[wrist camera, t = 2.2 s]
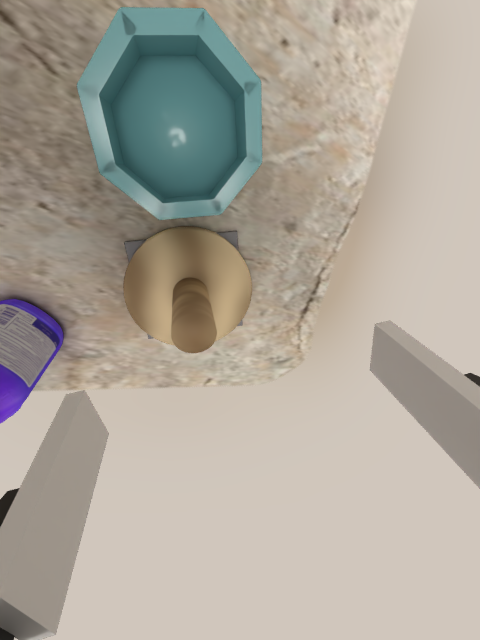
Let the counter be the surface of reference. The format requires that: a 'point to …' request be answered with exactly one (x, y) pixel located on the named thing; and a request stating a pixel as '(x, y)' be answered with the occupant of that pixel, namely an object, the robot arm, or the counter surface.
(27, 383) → the bottle
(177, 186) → the bowl
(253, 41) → the counter surface
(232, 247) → the lid
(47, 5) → the counter surface
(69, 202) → the counter surface
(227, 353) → the counter surface
